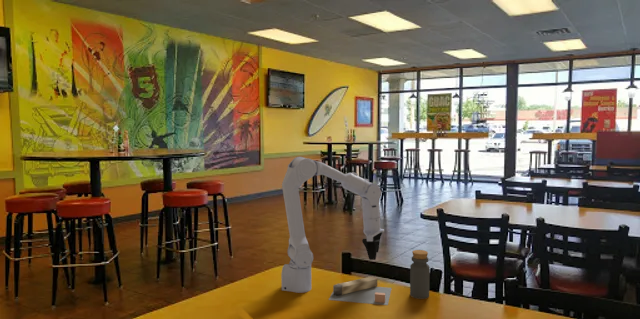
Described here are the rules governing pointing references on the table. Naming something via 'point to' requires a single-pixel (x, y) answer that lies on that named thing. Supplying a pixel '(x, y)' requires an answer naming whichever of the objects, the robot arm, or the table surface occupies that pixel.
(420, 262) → the bottle
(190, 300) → the table surface
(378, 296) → the leg stop
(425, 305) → the table surface
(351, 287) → the stool leg
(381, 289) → the stool seat
